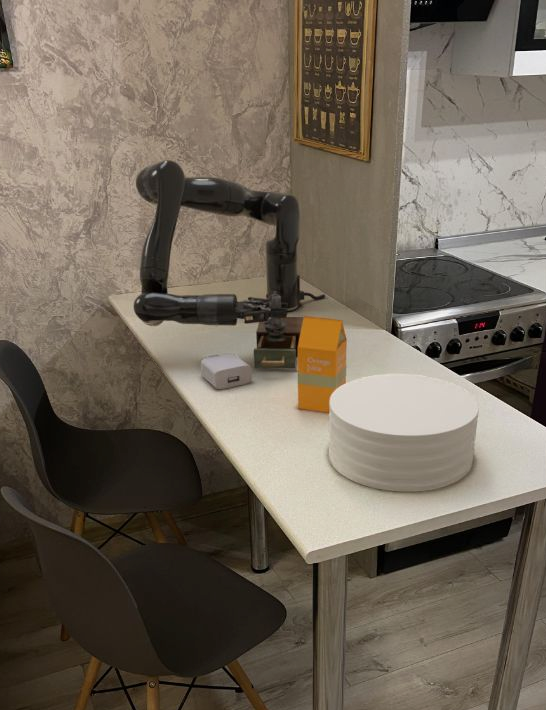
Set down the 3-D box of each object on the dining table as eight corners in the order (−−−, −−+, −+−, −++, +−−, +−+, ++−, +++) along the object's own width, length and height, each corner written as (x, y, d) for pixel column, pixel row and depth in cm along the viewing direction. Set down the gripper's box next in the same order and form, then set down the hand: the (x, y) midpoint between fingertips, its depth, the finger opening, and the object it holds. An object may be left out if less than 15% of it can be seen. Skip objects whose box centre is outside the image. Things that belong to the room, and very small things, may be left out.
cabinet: (300, 356, 195) (300, 332, 192) (257, 355, 196) (256, 331, 193) (303, 339, 206) (303, 316, 203) (262, 339, 207) (261, 316, 204)
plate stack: (405, 509, 131) (410, 451, 126) (299, 453, 150) (299, 400, 144) (501, 457, 147) (509, 403, 141) (395, 412, 165) (398, 363, 160)
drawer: (294, 376, 182) (293, 357, 179) (252, 375, 182) (251, 357, 180) (298, 352, 196) (298, 334, 193) (259, 351, 196) (258, 334, 194)
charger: (226, 362, 192) (251, 382, 181) (192, 369, 188) (216, 390, 177) (225, 345, 190) (250, 364, 178) (191, 351, 186) (214, 371, 174)
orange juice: (335, 414, 165) (336, 325, 155) (297, 408, 168) (296, 321, 158) (345, 399, 171) (347, 314, 161) (309, 394, 174) (308, 310, 164)
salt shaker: (291, 340, 187) (291, 292, 181) (269, 343, 185) (268, 295, 179) (282, 332, 192) (281, 286, 186) (260, 336, 190) (259, 288, 184)
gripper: (213, 303, 177) (286, 303, 177) (219, 286, 189) (287, 286, 189) (214, 334, 181) (286, 334, 181) (221, 315, 193) (288, 315, 193)
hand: (286, 310), depth 185 cm, fingers closed on salt shaker, 3 cm apart
